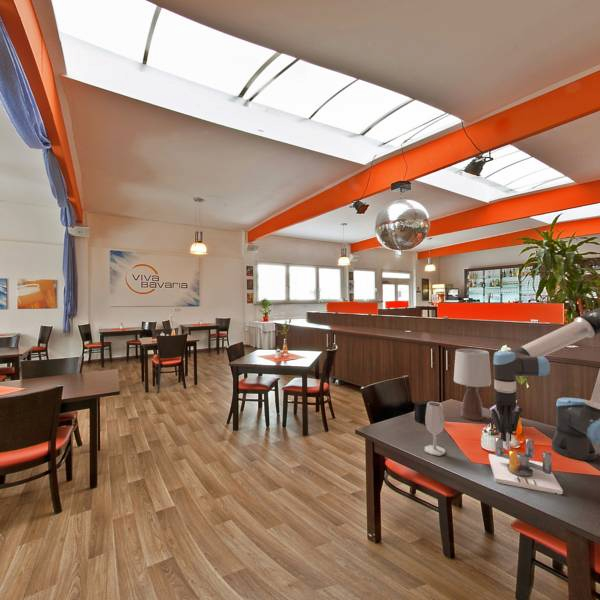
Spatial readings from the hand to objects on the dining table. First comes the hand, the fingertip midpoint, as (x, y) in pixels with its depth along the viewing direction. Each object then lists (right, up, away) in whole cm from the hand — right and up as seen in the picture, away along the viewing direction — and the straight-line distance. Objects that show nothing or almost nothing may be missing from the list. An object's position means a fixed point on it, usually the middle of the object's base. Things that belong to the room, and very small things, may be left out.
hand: (506, 448), depth 134 cm
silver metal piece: (+2, -5, -7) cm, 9 cm away
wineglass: (-24, -7, +12) cm, 28 cm away
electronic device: (-15, -6, +47) cm, 50 cm away
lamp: (+13, -6, +51) cm, 53 cm away
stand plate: (+2, -7, -7) cm, 10 cm away
